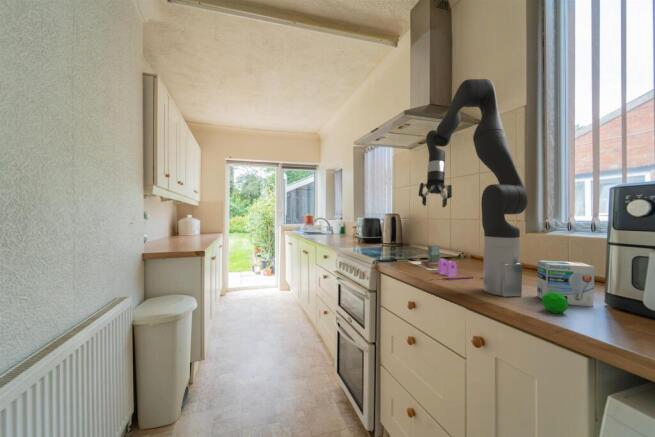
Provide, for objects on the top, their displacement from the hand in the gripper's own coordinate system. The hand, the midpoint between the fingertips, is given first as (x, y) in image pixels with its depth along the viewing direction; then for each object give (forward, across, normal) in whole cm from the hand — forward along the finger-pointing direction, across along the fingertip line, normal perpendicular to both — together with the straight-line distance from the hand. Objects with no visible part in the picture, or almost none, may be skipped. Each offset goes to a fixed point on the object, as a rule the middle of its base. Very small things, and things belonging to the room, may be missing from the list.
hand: (434, 206), depth 125 cm
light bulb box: (+32, +25, -44) cm, 60 cm away
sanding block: (+27, 0, -6) cm, 28 cm away
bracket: (+30, +5, -18) cm, 36 cm away
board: (+28, -1, -2) cm, 28 cm away
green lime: (+34, +16, -53) cm, 65 cm away
